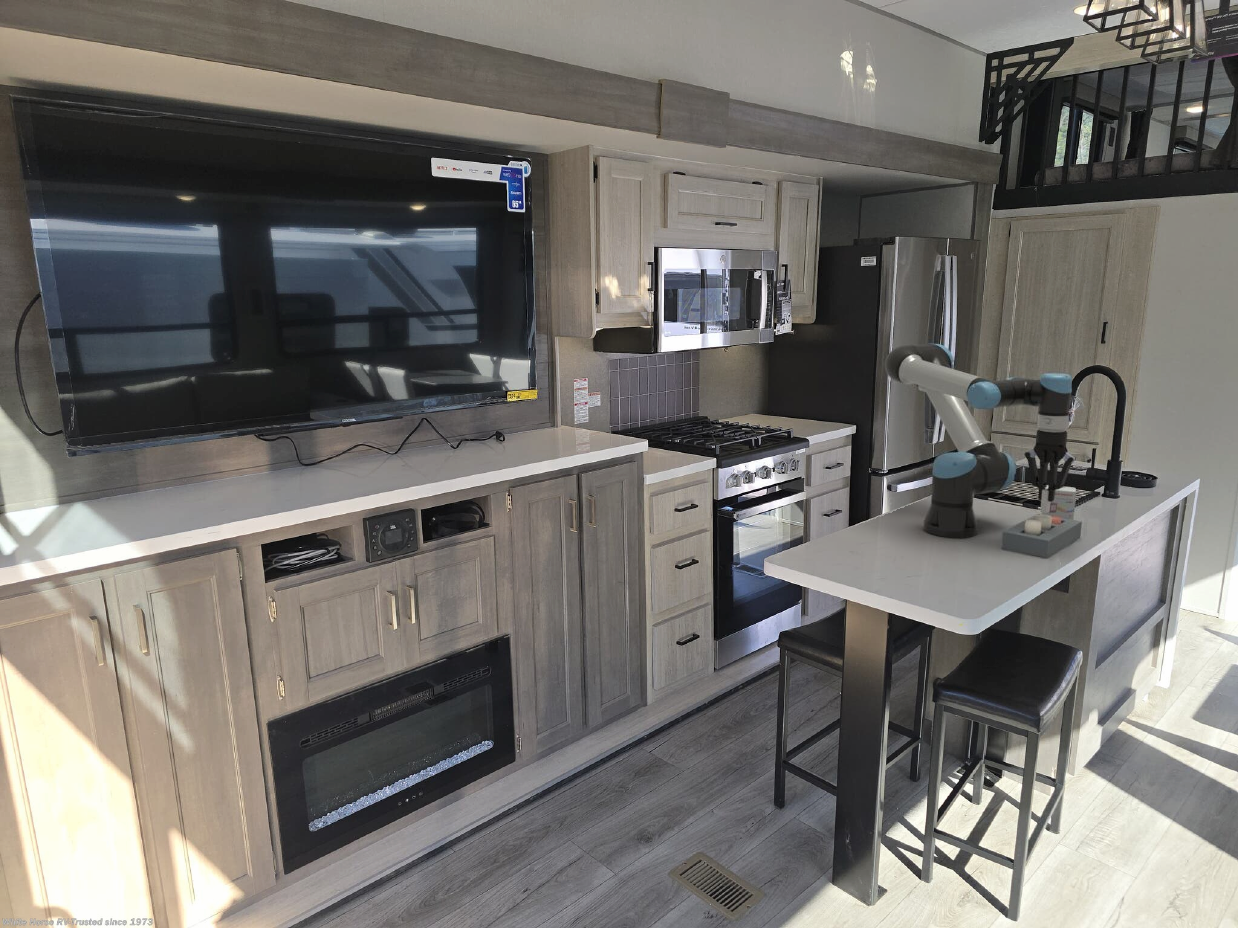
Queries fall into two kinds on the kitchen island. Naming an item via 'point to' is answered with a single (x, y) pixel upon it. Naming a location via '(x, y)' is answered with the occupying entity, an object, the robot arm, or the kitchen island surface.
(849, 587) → the kitchen island surface
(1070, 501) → the ink box
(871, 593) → the kitchen island surface
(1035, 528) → the ivory egg
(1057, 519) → the red egg
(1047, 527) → the cream egg
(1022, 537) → the grey socket block
